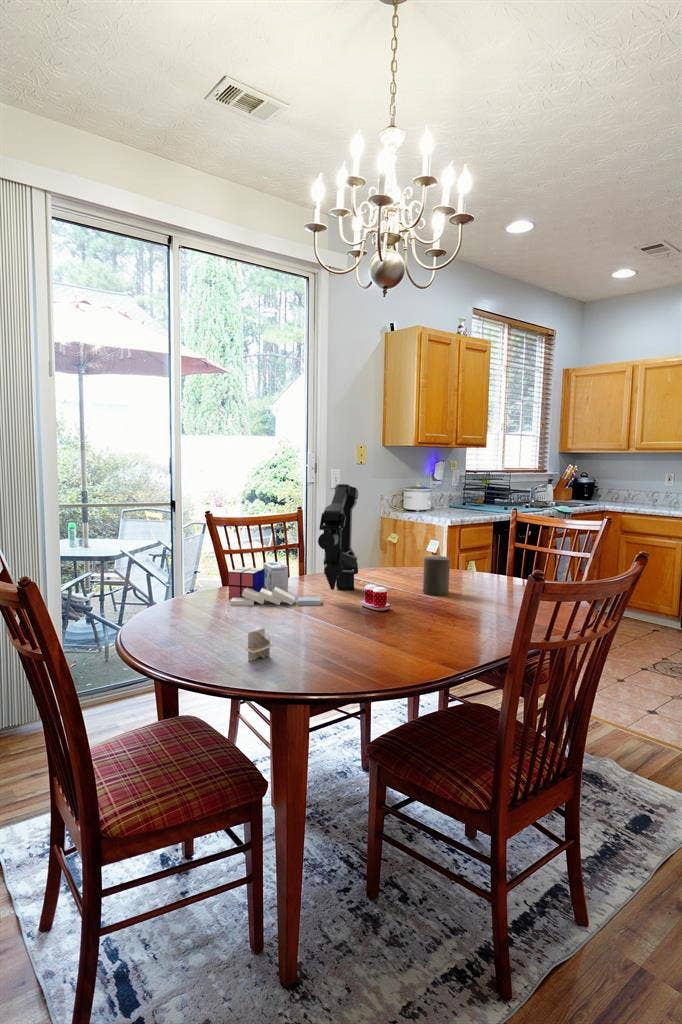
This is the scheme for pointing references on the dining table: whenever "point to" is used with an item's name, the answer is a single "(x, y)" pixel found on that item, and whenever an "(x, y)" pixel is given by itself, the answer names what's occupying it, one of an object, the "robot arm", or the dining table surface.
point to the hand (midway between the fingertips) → (332, 589)
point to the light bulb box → (276, 576)
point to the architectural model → (258, 644)
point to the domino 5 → (309, 600)
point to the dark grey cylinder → (436, 575)
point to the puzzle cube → (245, 581)
